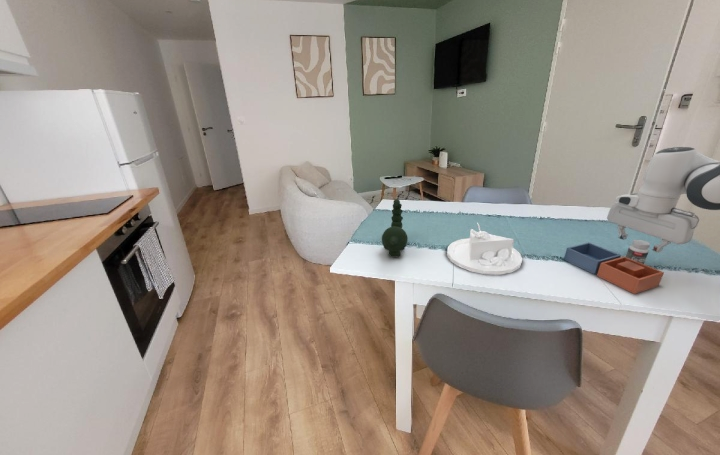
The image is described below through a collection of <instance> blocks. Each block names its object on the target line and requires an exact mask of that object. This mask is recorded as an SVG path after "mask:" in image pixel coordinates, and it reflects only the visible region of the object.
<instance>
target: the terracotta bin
mask: <svg viewBox="0 0 720 455" xmlns="http://www.w3.org/2000/svg"><path fill="white" fill-rule="evenodd" d="M625 261H629V262H632V263H634V264H637V265H639V266H642V267H644V268H645V270H644V272H643V275H642V278H640V279H638V278H636V277H634V276H632V275H629V274H627V273H625V272H622V271H620V270H618V269H616V267H617V264H618V263H622V262H625ZM664 274H665V272H664V271H662V270H659V269H657V268H654V267H652V266H649V265H646V264H645V263H644V264H642V263H639V262H637V261H634V260H632V259H629V258H627V257H626V256H621V257H620V258H617V259H613V260H610V261H606V262H603V263H601V264H600V267H599V271H598V273H597V274H596V277H598V278H601V279H603V280H604V281H607V282H609V283H611V284H613V285H615V286H617V287H619V288H621V289H623V290H625V291H628V292H629V293H632V294H634V295H636V294H638V293H642V292H645V291H647V290H651V289H654V288H657V287H659V286H660V283H661V281H662V279H663V277H664Z"/></svg>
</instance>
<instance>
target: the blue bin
mask: <svg viewBox="0 0 720 455" xmlns="http://www.w3.org/2000/svg"><path fill="white" fill-rule="evenodd" d="M620 257H622V254H620V253H617V252H614V251H612V250H610V249H607V248H604V247H602V246H599V245H596V244H594V243H592V242H588V241H587V242H585V243H581V244H577V245H573V246H569V247H566V248H565V253H564V257H563V260H564V261H566V262H568V263H570V264H572V265H574V266H576V267H578V268H580V269H582V270H584V271H586V272H588V273H590V274H592V275H597V274H598V271H599V267H600V264H601V263H603V262H606V261H610V260H613V259H617V258H620Z"/></svg>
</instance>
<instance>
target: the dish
mask: <svg viewBox="0 0 720 455" xmlns="http://www.w3.org/2000/svg"><path fill="white" fill-rule="evenodd" d="M476 225H477V228H478V231H476V230H475V229H473V228H471V229H470V233H469V237H467V238H461V239H460V238H459V239H457V240H455V241H452V242H451V243H450V244H449V245H448V246H447V250H446V257H447V258H448V259H449V261H450V262H452V263H453V264H454V265H456V266H457V267H458V268H461V269H464V270H466V271H468V272H471V273H477V274H482V275H494V276H495V275H496V276H497V275H499V276H500V275H501V276H502V275H505V274H506V275H507V274H511V273H513V272H516V271H517V270H519V269H520V268H521V265H522V263H523V257H522V254H521V253H520V252H519V251H518V250H517V249H516V248H514V242H515V239H514V238H509V237H504V236H500V235H494V234H490V233H489V232H487V231H484V230H481V226H480V224H479V223H478V222H476Z"/></svg>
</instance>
